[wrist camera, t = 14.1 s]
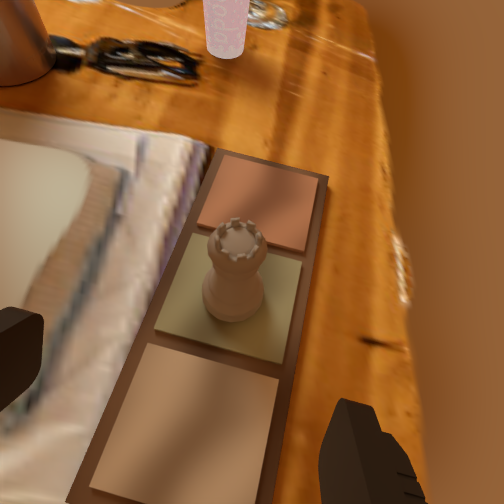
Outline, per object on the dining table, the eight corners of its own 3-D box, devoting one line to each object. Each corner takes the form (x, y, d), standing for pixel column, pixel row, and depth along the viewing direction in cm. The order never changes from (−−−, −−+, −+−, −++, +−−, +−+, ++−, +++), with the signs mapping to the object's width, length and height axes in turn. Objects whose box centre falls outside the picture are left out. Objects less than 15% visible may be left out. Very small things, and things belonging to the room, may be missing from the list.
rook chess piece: (263, 269, 25) (280, 206, 18) (262, 326, 23) (281, 280, 16) (205, 265, 24) (199, 199, 17) (198, 322, 22) (189, 274, 15)
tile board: (72, 498, 18) (61, 503, 17) (217, 155, 32) (217, 144, 31) (259, 555, 18) (262, 564, 17) (325, 183, 31) (330, 173, 30)
